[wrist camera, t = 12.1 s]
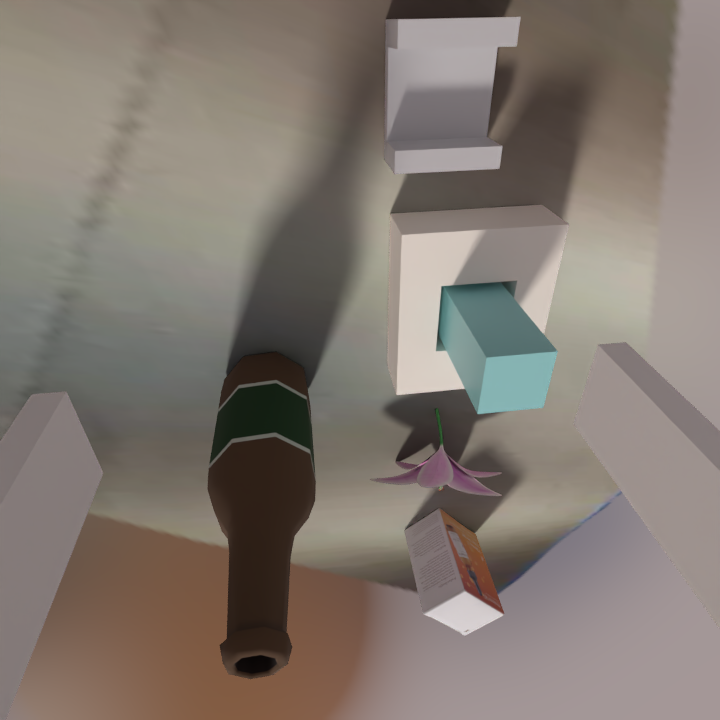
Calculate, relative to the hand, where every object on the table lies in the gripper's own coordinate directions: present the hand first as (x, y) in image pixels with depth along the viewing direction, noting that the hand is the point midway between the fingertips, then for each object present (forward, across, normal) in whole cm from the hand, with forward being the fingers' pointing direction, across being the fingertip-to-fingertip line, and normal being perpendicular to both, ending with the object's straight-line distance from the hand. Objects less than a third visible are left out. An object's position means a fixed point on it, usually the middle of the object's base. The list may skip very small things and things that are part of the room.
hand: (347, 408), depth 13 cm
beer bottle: (+27, -5, -19) cm, 33 cm away
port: (+27, +12, -11) cm, 31 cm away
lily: (+27, +10, -28) cm, 40 cm away
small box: (+27, +13, -44) cm, 53 cm away
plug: (+26, +12, -11) cm, 30 cm away
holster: (+27, +9, +4) cm, 28 cm away
